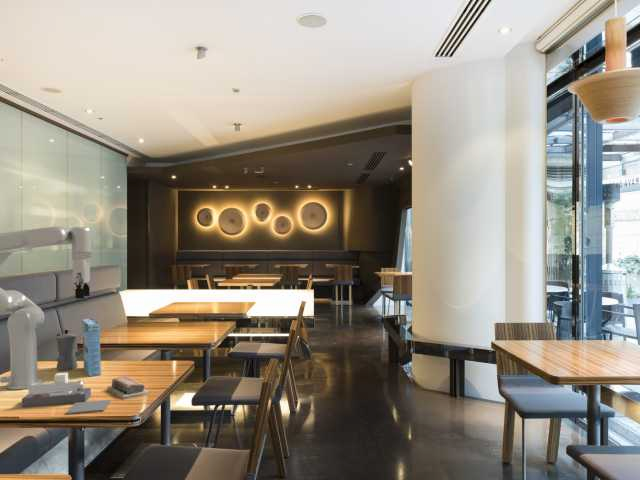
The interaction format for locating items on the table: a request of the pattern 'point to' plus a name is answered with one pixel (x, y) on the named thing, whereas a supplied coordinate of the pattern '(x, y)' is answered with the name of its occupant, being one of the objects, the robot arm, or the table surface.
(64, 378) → the plug
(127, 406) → the table surface
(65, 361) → the coffeepot
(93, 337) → the gum box
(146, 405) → the table surface
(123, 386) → the packaged product
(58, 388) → the grey long bar
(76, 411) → the mat
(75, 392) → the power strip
